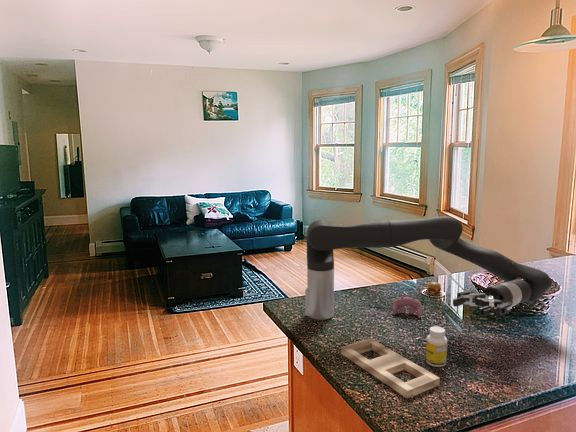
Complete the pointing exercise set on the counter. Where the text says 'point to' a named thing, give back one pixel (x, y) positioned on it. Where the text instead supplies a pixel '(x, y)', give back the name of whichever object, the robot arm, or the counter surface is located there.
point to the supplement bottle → (436, 347)
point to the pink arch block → (407, 301)
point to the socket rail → (390, 367)
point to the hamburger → (434, 289)
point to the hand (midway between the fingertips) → (466, 307)
